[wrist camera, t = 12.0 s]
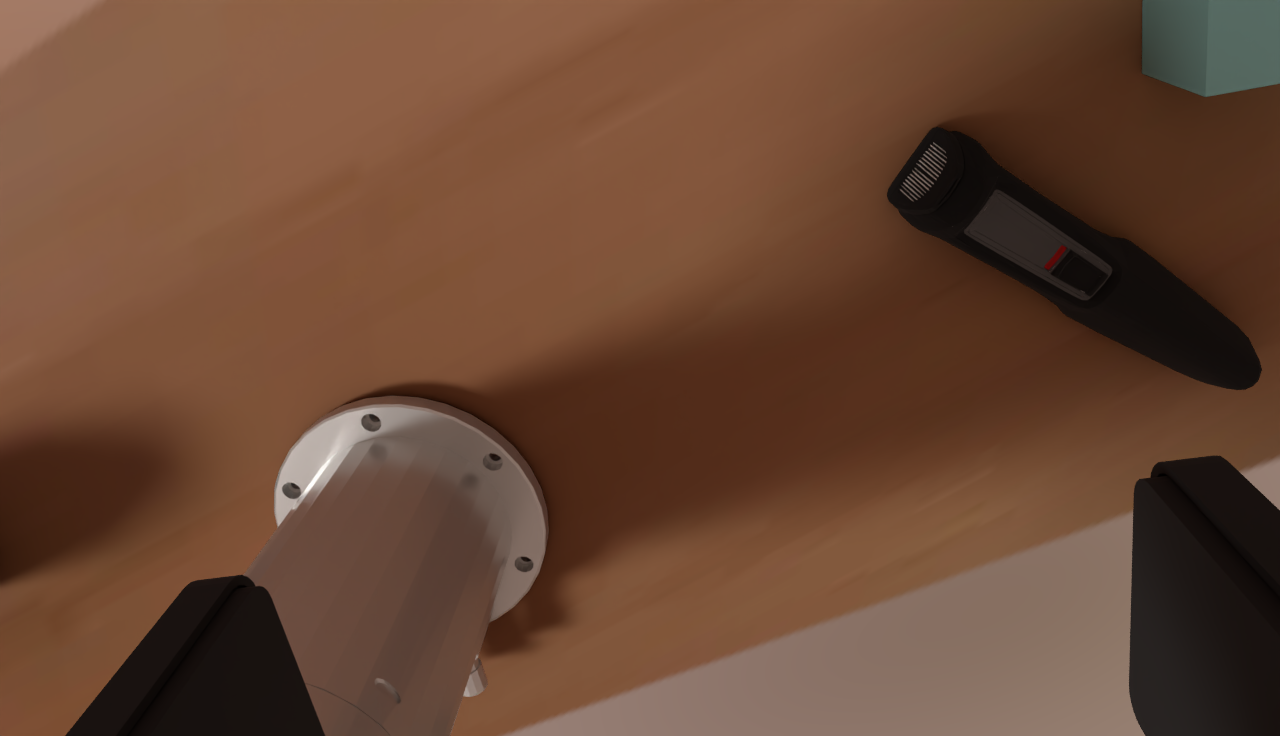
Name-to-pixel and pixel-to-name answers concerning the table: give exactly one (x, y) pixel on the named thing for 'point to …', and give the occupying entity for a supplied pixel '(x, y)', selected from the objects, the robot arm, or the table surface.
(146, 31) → the table surface
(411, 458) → the robot arm
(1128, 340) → the electric trimmer
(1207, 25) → the socket stand
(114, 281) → the table surface
